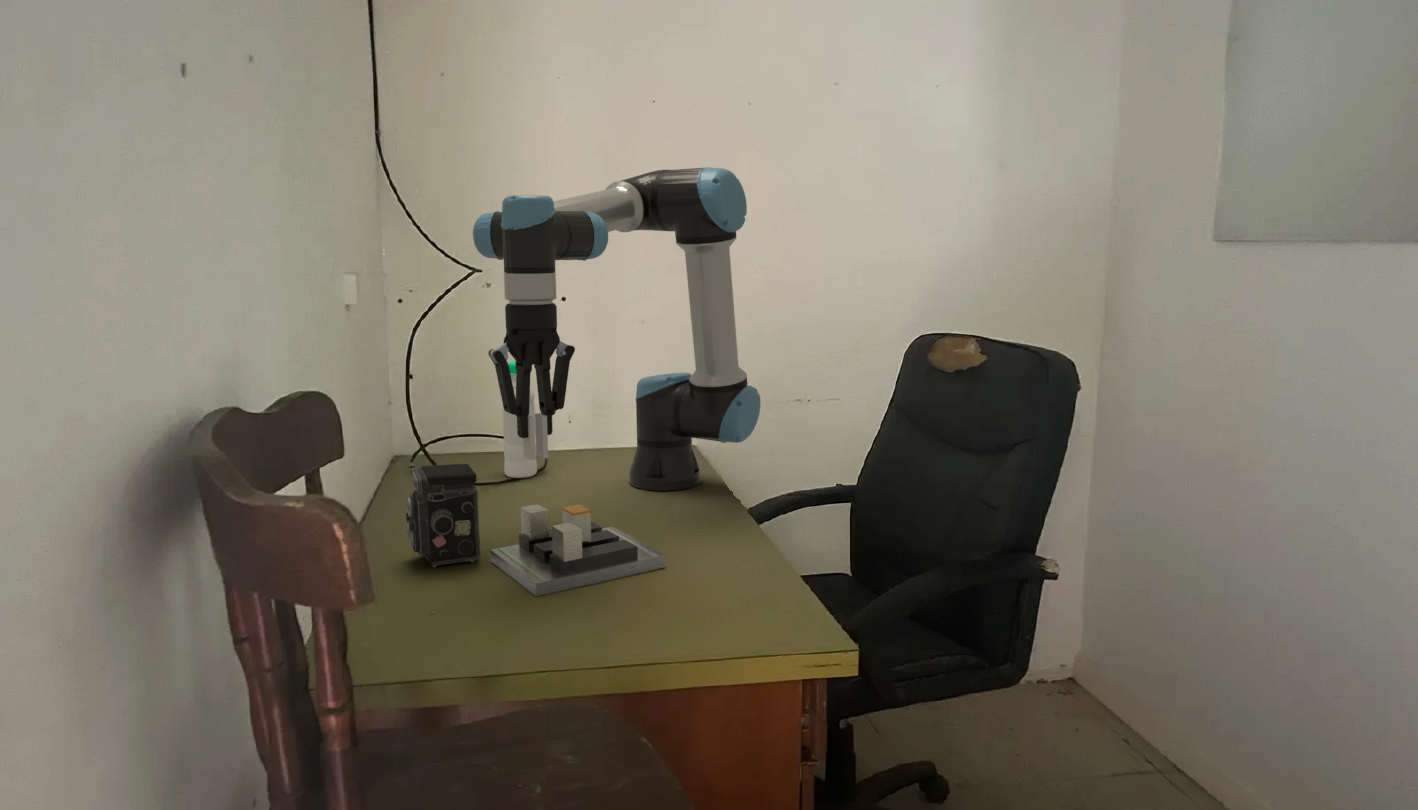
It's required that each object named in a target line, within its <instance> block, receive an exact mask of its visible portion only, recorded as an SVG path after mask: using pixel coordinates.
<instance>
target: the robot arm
mask: <svg viewBox="0 0 1418 810" xmlns="http://www.w3.org/2000/svg"><path fill="white" fill-rule="evenodd" d="M747 209H748V207H747V199H746V194H745V190H744V187H743V185H742V183H741V182H740V179H739V178H738V177H737V176H736V174H734V173H733V172H732V171H730V170H729V169H727V168H722V167H721V168H720V167H719V168H718V167H710V166H708V167H706V166H705V167H696V168H695V167H694V168H693V167H692V168H682V169H679V168H678V169H658V170H655V171H650V172H649V171H648V172H646V173H643V174H639V175H635V176H631V177H629V178H626V179H622V180H617V181H613V182H611V183H610V184H609V185H607V186H606V188H605V189H603V190H598V191H595V192H589V193H586V194H581V195H576V196H572V197H568V198H562V199H557V200H553V197H551V196H549V195H542V194H541V195H537V194H535V195H534V194H531V195H530V194H529V195H528V194H517V195H516V194H514V195H513V194H512V195H508V196H505V197H504V198H503V200H502V204H501V211H499V210H498V211H497V210H496V211H493V212H485V213H483V214H481V215H480V216H478V217H477V218H476V220H475V222H474V225H473V226H472V227H473V228H472V237H473V244H474V246H475V248H476V250H477V252H478V253H479V254H481V255H482V256H483V257H485V258H488V259H495V260H496V259H497V260H498V261H502V260H503V272H504V273H503V283H504V284H503V285H504V299H505V300H507V301H509V302H508V303H506V305H505V306H504V310H505V311H504V313H505V314H504V315H505V331H506V333H505V336H504V338H503V343H502V344H501V345H499V346H498V347H496V348H495V349H494V348H492V349H489V351H488V352H487V353H488V356H489V358H490V359H491V361H492V362H493V364H494V367H495V373H496V378H497V382H498V388H499V390H500V391H499V392H500V396H501V401H502V408H503V407H504V410H505V411H506V412H508V413H511V414H514V415H516V417H517V434H518V436H519V437H521V438H523V449H524V457H525V458H527V459H529V460H536V461H537V458H536V459H535V443H536V457H537V456H538V457H540V458H542V459H548V458H549V447H548V446H549V444H548V443H549V442H548V439H549V438H548V436H550V435H553V431H554V430H553V416H554V415H555V414H556V412H557V411H558V410H562V409H564V407H565V400H566V393H567V386H568V379H569V371H570V370H569V369H570V363H571V359H572V358H573V355H574V353H575V351H576V347H575V346H574V345H569V344H567V343H565V342H563V341H562V340H561V338H560V337H561V336H559V334H558V332H557V328H558V315H557V314H558V313H557V312H558V308H557V304H556V303H554V301H555V300H556V299H557V280H556V279H557V278H556V270H557V269H556V261H583V262H585V261H587V260H594V259H596V258H599V256H602V255H603V253H604V252H605V251H606V249H607V246H608V244H609V233H610V232H613V231H616V232H620V233H630V232H634V231H654V232H674V233H675V234H674V235H675V244H676V245H677V246H678V247H679V248H680V249H681V250H683V252H684V255H685V256H684V258H685V267H686V268H685V269H686V278H687V288H688V300H689V309H690V319H691V320H690V321H691V332H692V342H693V343H692V344H693V351H694V352H693V353H694V364H695V365H694V366H695V371H694V372H693V373H692V374H691V373H689V372H674V373H673V372H672V373H663V374H657V375H651V376H646V377H643V378H641V379H639V380H638V382H637V384H636V390H635V391H636V393H635V403H636V405H635V406H636V407H635V409H636V410H635V411H636V412H635V415H636V449H635V452H634V456H633V458H632V462H631V465H630V469H629V472H628V481H629V484H630V485H631V486H633V487H635V488H637V489H641V490H646V491H661V492H662V491H665V492H666V491H669V492H670V491H679V490H686V489H691V488H693V487H696V486H697V485H699V484H700V483H701V470H700V467H699V463H698V461H697V458H696V455H695V451H694V448H693V442H692V441H693V440H692V439H699V440H707V441H713V442H720V443H722V444H723V443H725V444H726V443H733V444H734V443H735V444H738V443H742V442H744V441H746V440H747V439H748V438H749V437H750V436H751V435H752V433H753V432H754V430H755V427H756V425H757V423H758V420H759V416H760V413H761V396H760V392H759V390H758V389H757V388H756V387H754V386H752V385H748V375H747V373H746V371H744V369H742V368H741V367H740V366H739V357H738V355H739V354H738V343H737V341H738V340H737V330H736V329H737V328H736V318H735V317H736V316H735V304H734V303H735V302H734V292H733V291H734V290H733V288H734V287H733V279H732V263H731V251H730V250H731V249H730V248H731V246H732V245H733V243H734V242H736V240H737V231H740V230H741V228H742V227H743V226H744V224H745V221H746V215H747V213H748V212H747ZM554 352H555V354H556V358H555V365H554V372H553V379H552V381H551V367H552V366H551V357H552V356H553V354H554ZM508 353H509V354H510V355H511V356H512V358H513V359H514V361H516V362H515V368H516V399H515V394H514V389H513V384H512V379H511V375H510V370H509V365H508V359H509V354H508ZM533 367H534V370H535V377H536V386H537V395H538V396H537V397H538V398H537V399H538V408H539V411H540V412H537V413H536V412H535V429H536V435H535V429H534V417H532V416H530V415H529V403H530V387H531V373H532V371H533Z"/></svg>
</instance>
